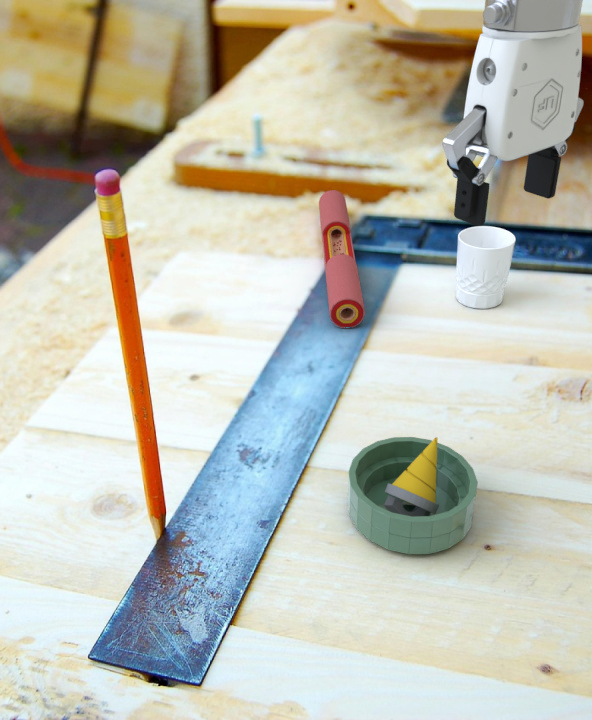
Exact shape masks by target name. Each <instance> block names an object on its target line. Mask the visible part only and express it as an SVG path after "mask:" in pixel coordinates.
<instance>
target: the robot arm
mask: <svg viewBox="0 0 592 720" xmlns="http://www.w3.org/2000/svg"><path fill="white" fill-rule="evenodd" d="M583 2H584V1H583V0H484V9H483V12H482V30H481V32H482V33H480V34H479V38H478V40H477V44H476V49H475V51H474V56H473V60H472V65H471V70H470V74H469V80H468V85H467V89H466V98H465V103H464V112H463V119H462V120H461V121H460V122H459V123H458V124H457V125H456V126H455V127H453V129H451V131H449V133H447V135H445V137H444V138H443V139H442V143H441V145H442V149H443V152H444V154H445V158H446V166H447V167H448V168H449V169H450V171H451V172H452V177H453V178H455V179H456V180H457V181H456V187H455V197H454V198H455V199H454V201H455V202H454V209H453V216H454V218H455V219H457V220H460V221H462V222H465V223H468V224H470V225H472V226H474V227H477V226H484V224H486V219H487V218H486V217H487V210H488V203H489V195H490V194H489V193H490V183H489V182H486V179H487V178H488V177H489V174H490V173H491V171H492V170H493V168H494V166H495V165H496V163H497V161H498V160H499V161H502V162H509V161H514V160H517V159H521V158H523V157H526V156H528V157H527V163H526V170H525V176H524V183H523V190H524V191H525V192H526V193H530V194H532V195H535V196H538V197H541V198H545V199H547V200H548V199H552V198H554V197H555V195H556V190H557V185H558V180H559V173H560V167H561V163H562V157H563V156H564V155H565V154H566V152H567V149H568V143H567V142H568V141H569V139H570V137H571V136H572V135H573V133H574V132H575V129H576V122H577V120H578V118H579V116H580V113H581V112H582V109H583V107H584V105H585V104H584V100H583V99H582V98H581V97H579V92H580V83H581V74H582V73H581V72H582V59H583V58H582V57H583V33H582V25H581V24H580V18H581V12H582V6H583ZM477 156H478V157H482V160H481V161H480V163H478V166H477V165H476V164H475V163H474V161H475V159H476V157H477Z"/></svg>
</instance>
